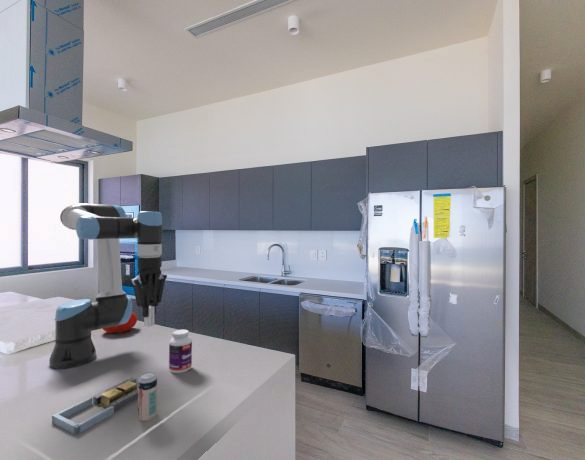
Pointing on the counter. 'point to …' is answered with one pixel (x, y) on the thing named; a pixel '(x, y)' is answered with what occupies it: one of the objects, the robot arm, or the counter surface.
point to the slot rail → (121, 401)
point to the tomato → (123, 325)
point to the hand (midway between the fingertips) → (149, 325)
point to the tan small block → (110, 397)
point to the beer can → (147, 396)
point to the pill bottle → (180, 352)
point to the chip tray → (77, 428)
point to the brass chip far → (127, 387)
